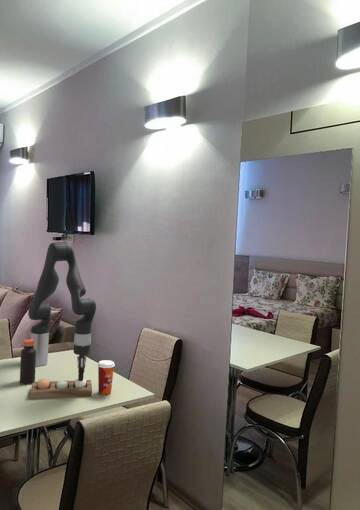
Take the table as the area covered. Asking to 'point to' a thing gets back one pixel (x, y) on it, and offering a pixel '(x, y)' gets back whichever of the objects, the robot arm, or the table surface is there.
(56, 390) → the button board
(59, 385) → the sage button
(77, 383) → the cream button
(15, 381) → the table surface
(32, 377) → the bottle
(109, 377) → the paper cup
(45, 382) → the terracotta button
